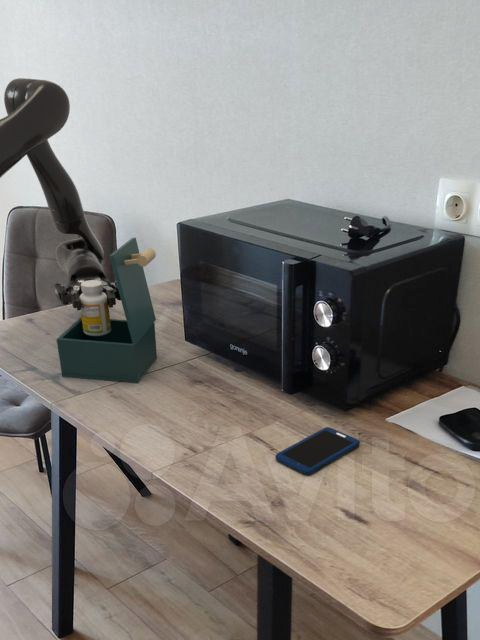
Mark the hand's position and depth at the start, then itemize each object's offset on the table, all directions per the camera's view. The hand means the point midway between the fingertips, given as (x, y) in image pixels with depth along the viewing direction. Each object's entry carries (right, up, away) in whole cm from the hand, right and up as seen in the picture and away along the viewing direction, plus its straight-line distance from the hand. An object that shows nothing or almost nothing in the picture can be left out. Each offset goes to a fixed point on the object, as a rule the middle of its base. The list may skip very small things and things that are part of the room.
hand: (94, 303), depth 134 cm
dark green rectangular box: (+1, -11, +9) cm, 14 cm away
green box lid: (+7, +3, 0) cm, 8 cm away
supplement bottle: (-1, -4, +6) cm, 7 cm away
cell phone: (+41, -29, -18) cm, 53 cm away
